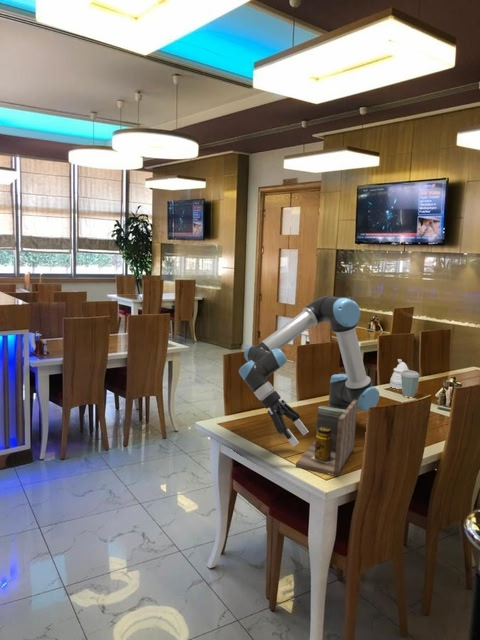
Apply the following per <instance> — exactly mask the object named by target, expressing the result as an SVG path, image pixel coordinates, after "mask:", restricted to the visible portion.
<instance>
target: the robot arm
mask: <svg viewBox="0 0 480 640" xmlns="http://www.w3.org/2000/svg"><path fill="white" fill-rule="evenodd" d="M301 311H302V312H300V313H299V314H297V315H296V316H295V317H293V318H292V319H291V320H288V322H286V323H285V324H283V325H282V326H281V327H279V328H278V329H276V331H274V332H273V333H271V334H270V335H269V336H267V337H266V338H265V339H263V340H262V341H261V342H259V343H258V344H256V345H249V346H247V347H246V348H245V350H244V353H243V357H244V358H245V361H246V363H245V364H243V365H241V367H240V368H239V369H238V373H239V375H240V377H241V378H242V380H243V381H244V383H245V384H246V385H247V386H248V387H249V388H250V389H251V391H252V392H253V393H254V395H255V397H256V399H258V400H259V401H261V404H262V405H263V407H264V408H265V410H266V409H267V410H268V409H269V410H268V411H267V413H268V415H269V416H270V418H271V420H272V422H273V425H274V427H275V429H276V431H277V433H278V434H279V435H283V436H284V437H285V439H286V440H287V441H288V442H289V443H290V445H291V447H293V448H294V447H295V446H297V445H298V444H300V442H299V441H298V439H297V437H296V436H295V435H294V434H293V433H292V432H291V430H290V429H289V428H287V426H286V423H285V420H284V417H286V418H288V419H289V420H291V421H293V424H294V426H295V427H296V428H297V429H298V431H299V432H300V433H301V434H302V436H305V435H306V434H308V433H309V430H308V428H307V427H306V426H305V425H304V423H303V422H302V420H300V418H301V415H300V414H299V413H298V412H297V411H295V410H294V409H293V408H292V407H291V406H290V405H289V404H287V402H286V401H285V400H284V399H282V400H281V396H280V394H279V393H278V391H277V390H275V387H274V386H273V385H272V383H271V382H270V381H269V380H268V378H269V376H271V375H272V374H274V373H275V372H277V371H278V370H279V369H281V368H282V367H283V366H284V365H285V364H286V363H287V357H286V355H285V353H284V352H283V351H282V350H281V349H283V348H284V347H285V346H286V345H287V344H289V343H291V342H292V341H293V340H294V339H296V338H297V337H298V336H300V335H302V334H303V333H304V332H305V331H307V330H308V329H309V328H310V327H312V326H315V327H316V326H317V325H318V324H320V323H323V322H327V323H329V326H330V330H331V331H332V333H334V334H335V335H336V340H337V343H338V347H339V352H340V354H341V355H340V356H341V359H342V363H343V367H344V370H345V373H339V374H338V373H337V374H333V375H331V377H330V381H329V394H328V395H329V396H328V405H327V407H332V408H337V409H343V410H346V409H347V408H348V406H349V405H350V404H351V403H352V401H353V400H358V402H357V410H360V411H364V412H369V411H368V409H369V407H374V408H375V407H376V406H377V405H378V402H379V400H380V392H379V390H378V388H377V387H376V386H373V382H372V379H371V376H368V375H367V373H366V369H365V365H364V361H363V356H362V351H361V348H360V344H359V338H358V335H357V331H356V329H357V327H358V325H359V324H358V323H359V322H360V318H361V309H360V306H359V304H358V303H357V302H356V301H354V300H352V299H350V298H347V297H338V296H333V295H325V296H320V297H319V298H317V299H315V300H313V301H312V302H310V303H309V304H308V305H306V306H304V307H303V308H302V310H301ZM280 400H281V401H280Z"/></svg>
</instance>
